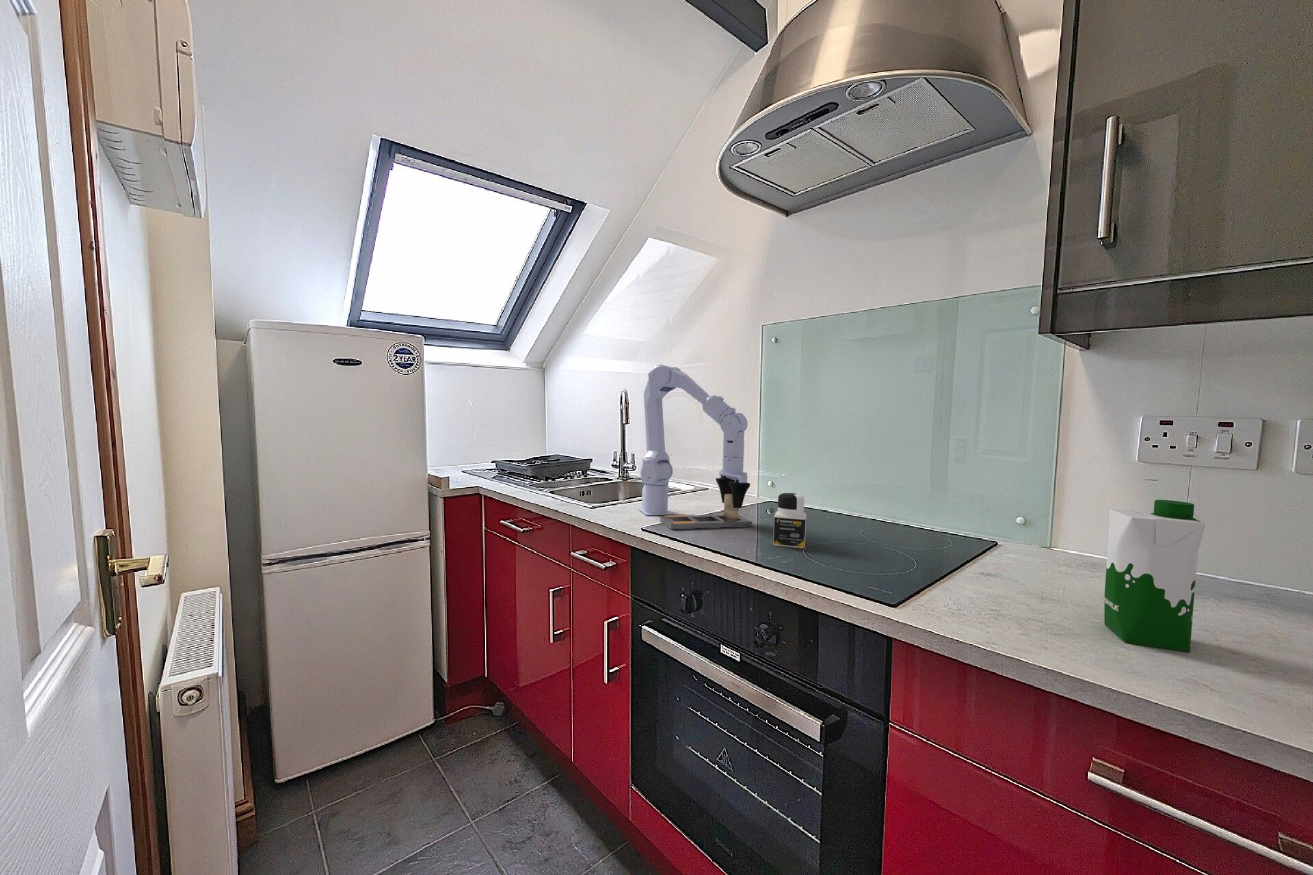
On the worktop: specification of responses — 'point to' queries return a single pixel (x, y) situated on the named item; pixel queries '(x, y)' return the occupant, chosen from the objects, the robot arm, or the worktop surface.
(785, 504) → the medicine bottle
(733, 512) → the peg
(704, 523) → the gray compartment tray
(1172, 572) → the milk carton
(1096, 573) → the worktop surface
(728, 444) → the robot arm
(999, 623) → the worktop surface
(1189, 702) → the worktop surface
